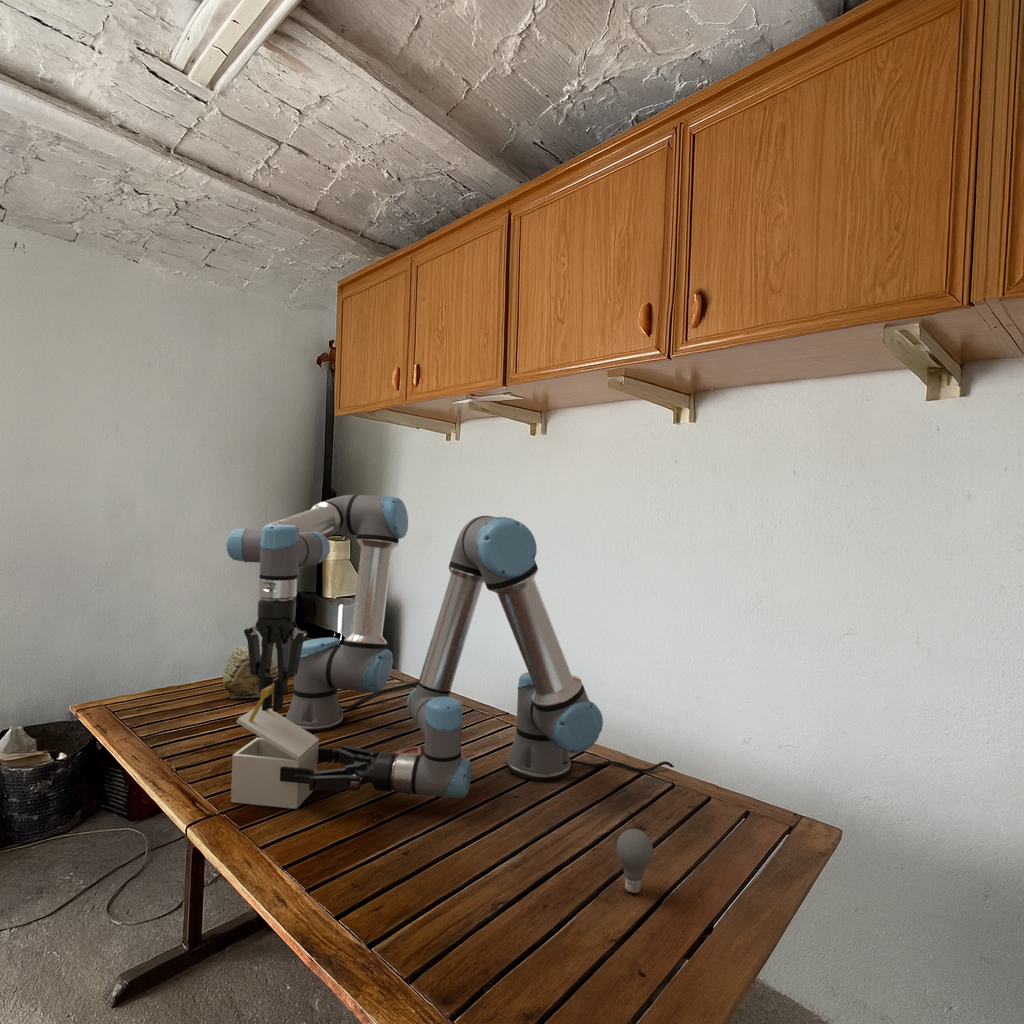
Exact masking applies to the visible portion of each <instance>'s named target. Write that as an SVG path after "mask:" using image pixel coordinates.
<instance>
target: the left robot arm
mask: <svg viewBox="0 0 1024 1024" xmlns="http://www.w3.org/2000/svg"><path fill="white" fill-rule="evenodd" d="M408 531H409V514H408V511H407V507H406V505H405V503H404V501H403V500H402V499H400V497H396V496H390V495H374V494H373V495H372V494H371V495H370V494H369V495H368V494H366V495H365V494H346V495H340V496H336V497H333V498H330V499H327V500H324V501H321V502H317V503H316V504H314V505H313V506H312V507H311V509H308V510H305V511H303V512H300V513H296V514H294V515H291V516H289V517H286V518H283V519H280V520H277V521H274V522H271V523H267V524H266V525H265V524H264V525H261V526H258V527H256V528H247V527H244V528H236V529H234V530H232V531H231V532H230V533H229V535H228V536H227V539H226V552H227V555H228V557H230V559H232V560H233V561H237V562H243V563H258V564H259V576H258V577H259V578H258V597H259V600H257V620H256V622H255V624H254V625H253V626H250V627H247V628H245V629H244V630H243V633H244V636H245V638H246V640H247V641H246V642H247V648H248V651H249V661H250V672H251V674H252V675H256V676H258V677H259V692H260V693H261V690H263V689H264V688H266V687H268V686H270V685H271V684H273V677H272V676H269V675H270V674H271V673H270V667H271V660H273V652H274V646H275V648H276V656H277V657H276V658H277V668H278V678H277V680H275V681H274V701H273V703H272V694H271V695H270V696H268V697H266V698H265V699H264V701H263V703H262V711H266V710H268V709H269V708H270V709H271V708H272V707H273V708H272V710H273V712H276V713H278V712H279V711H281V710H282V709H283V708H284V696H285V695H287V693H288V687H289V686H288V684H289V679H291V678H293V695H292V696H293V697H292V699H291V702H290V704H289V705H288V711H287V713H286V715H285V718H286V719H288V720H289V721H291V722H293V723H294V724H296V725H298V726H299V727H301V728H302V729H304V730H306V731H307V732H309V733H316V732H325V731H329V730H332V729H335V728H337V727H339V726H340V725H342V723H343V722H344V714H343V710H349V709H352V708H354V707H356V706H357V705H359V704H360V703H362V702H364V701H366V700H368V699H370V698H373V697H374V696H376V695H380V694H383V693H388V692H392V691H395V690H401V689H404V688H409V687H413V686H417V685H418V682H419V680H417V681H414V682H410V683H406V684H401V685H396V686H392V687H388V688H387V687H386V688H384V687H385V685H386V684H387V682H388V681H389V678H390V676H391V673H392V669H393V665H394V658H393V652H392V651H391V650H390V649H388V648H387V647H388V642H387V640H386V639H385V638H384V636H383V632H384V625H385V615H386V614H385V613H386V606H387V599H388V589H389V580H390V572H391V563H392V554H393V550H394V549H395V548H397V547H398V546H399V542H400V539H404V538H405V537H406V535H407V532H408ZM333 535H348V536H349V535H350V536H356V542H357V543H358V545H359V546H360V554H359V555H360V556H359V561H358V562H359V563H358V571H357V579H356V587H355V595H354V601H353V602H354V603H353V612H352V619H351V626H350V627H351V628H350V634H349V635H348V636H346V637H345V638H344V639H343V645H342V644H340V643H341V641H340V639H339V638H338V637H318V638H313V639H307V637H308V631H307V630H301V628H298V627H297V623H296V613H297V612H296V608H297V600H296V599H295V598H296V597H297V593H298V591H297V589H298V586H297V585H298V570H299V569H298V568H301V567H308V566H314V565H317V564H321V563H322V562H324V561H325V560H326V559H327V558H328V556H329V554H330V547H331V546H330V543H329V540H328V538H327V537H330V536H333ZM259 635H260V636H261V645H260V637H259ZM292 635H293V636H292ZM291 636H292V640H293V642H292V644H291V650H290V654H289V644H290V638H291ZM306 639H307V640H306ZM260 646H261V647H260ZM260 648H261V649H262V653H261V655H260ZM268 676H269V677H268ZM383 688H384V689H383ZM338 690H344V691H345V690H347V691H354V692H360V693H370V694H368V695H366V696H363V697H361V698H360V699H358V700H357V701H355V702H353V703H351V704H347V705H341V702H340V699H339V695H338Z"/></svg>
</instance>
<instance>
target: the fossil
mask: <svg viewBox="0 0 1024 1024" xmlns="http://www.w3.org/2000/svg"><path fill="white" fill-rule="evenodd" d="M261 653H262V647H260V655H261ZM270 673H271V674H270V675H269V676H272V677H273V683H274V681H275V680H277V678H278V667H277V665H276V663H275V662H274V660H273V659H272V660H271V667H270ZM222 676H223V677H222V685H223V687H224V688H225V690H226V691H228V693H229V698H230V699H250V698H261V694H260V692H259V677H258V676H256V675H252V674H251V672H250V661H249V651H248V646H246V647H245V646H238V647H237V648H236V649H235V650H233V651H232V653H231V656H230V657H229V659H228V660H227V663H226V666H225V668H224V671H223V675H222ZM269 676H268V677H269ZM272 695H273V694H272Z"/></svg>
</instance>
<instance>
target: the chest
mask: <svg viewBox="0 0 1024 1024" xmlns="http://www.w3.org/2000/svg"><path fill="white" fill-rule="evenodd" d="M318 748H319V742H317V743H316V744H315V745H314V746H313V747H312V748H311V749H310V750H309V751H308V752H306V753H305V754H304V755H303V756H302V757H301V758H300V759H299V760H296V759H294V758H293V757H291V756H290V755H288V754H286V753H285V752H283V751H282V750H280V749H278V748H277V747H275V746H274V745H272V744H270V743H269V742H267V741H266V740H264V739H262V738H261V737H259V736H258V737H257V736H256V738H254V739H253V740H251V741H250V742H248V743H247V744H245V745H244V746H243V747H241V748H240V749H239V750H237V751H236V752H234V753H233V754H232V761H231V762H232V763H231V784H230V785H231V787H230V802H231V803H236V804H244V805H253V806H266V807H274V808H284V809H292V810H293V809H294V810H297V809H298V808H299V807H300V806H301V805H302V804H303V803H304V802H305V800H307V798H309V796H310V795H311V794H312V793H313V792H314V791H310V790H309V784H305V783H294V782H284V781H280V768H281V767H282V766H283V767H294V768H305V769H311V768H313V770H314V772H315V771H318V770H319V769H318V768H319V767H318V765H319V761H318Z"/></svg>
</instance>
